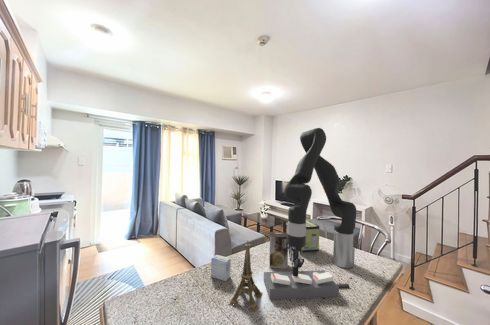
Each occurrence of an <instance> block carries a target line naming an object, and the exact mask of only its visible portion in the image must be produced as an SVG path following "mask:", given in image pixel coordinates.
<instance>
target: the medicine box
mask: <svg viewBox="0 0 490 325" xmlns="http://www.w3.org/2000/svg"><path fill="white" fill-rule="evenodd" d="M231 260H232V258H230V257H227V256H223V255H219V254H215V255H214V256H212V258H211V260H210V261H211V262H210V264H211V266H210V267H211V268H210V277H211V278H212V279H213V278H214V279H217V280H220V281H223V282H227V281H228V280H229V279H230V278H231V269H232V268H231Z"/></svg>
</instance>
